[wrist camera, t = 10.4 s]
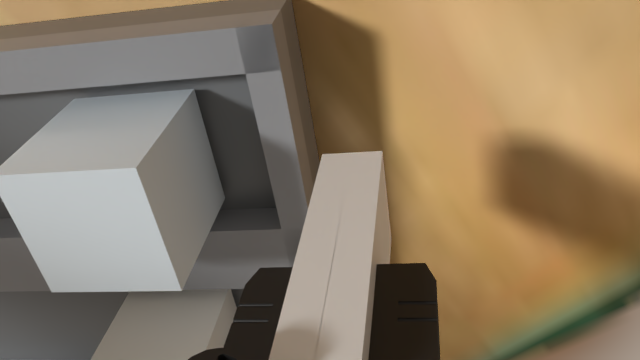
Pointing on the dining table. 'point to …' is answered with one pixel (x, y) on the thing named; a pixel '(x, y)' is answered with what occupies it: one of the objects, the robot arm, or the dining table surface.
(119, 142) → the pale grey cube
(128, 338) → the off-white cube
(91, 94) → the gray divided tray
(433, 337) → the robot arm
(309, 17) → the dining table surface
